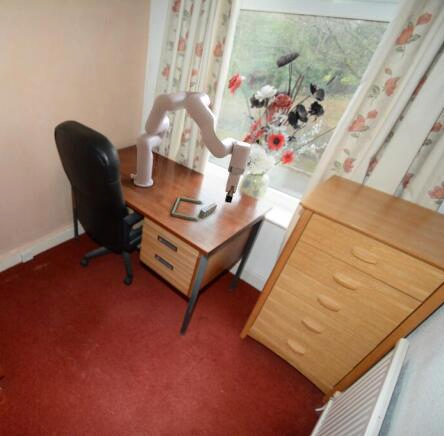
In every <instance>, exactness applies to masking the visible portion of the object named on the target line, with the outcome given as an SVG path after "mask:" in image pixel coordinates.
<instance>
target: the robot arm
mask: <svg viewBox="0 0 444 436" xmlns="http://www.w3.org/2000/svg"><path fill="white" fill-rule="evenodd" d="M210 103H211V101H210V97H209V96H208V94H206V93H205V92H202V91H201V92H200V91H188V90H181V91H176V92H171V93H162V94H159V95H157V96H156V97H155V99H154V102H153V104H152V106H151V109H150V112H149V114H148V117H147V119H146V121H145V124H144V131H145V132H144V133H141V134H139V136H138V137H137V138H136V140H135V144H136V174H134V173H130V175H129V176H130V179H133V184H134V185H136V186H137V187H140V188H149V187H151V186H153V185H154V180H153V179H152V175H153V161H154V154H153V152H152V149H154V148H156V147H159V145H161V144H162V142H163V141H164V138H165V137H166V135H167V133H168V131H169V128H170V119H169V116H168V112H176V111H179V110H185V111H186V112H187V114H188V115H189V116H190V117H191V119H192V120H193V122H194V123H195V124H196V125H197V127H198V128H199V130H200V134H201V135H200V136H201V138H202V142H203V144H204V146H205V148H206V149H207V151H208V152H210V154H211V155H212V156H213V157H214V158H216V159H224V158H227V156H229V155H231V156H230V160H229V164H228V168H227V172H228V176H227V180H226V184H225V190H224V192H225V193H226V195H225V199H224V202H225V203H228V204H231V203H232V202H233V198H234V194H236V193H237V190H238V187H239V183H240V179H241V176H242V175H244V174H245V171H246V168H247V164H248V160H249V157H250V154H251V150H252V146H251V144H250V143H248V142H244V141H239V140H237V139H234V138H232V137H225V138H224V139H220V136H218V135H217V133H216V128H215V124H216V116H215V114H214V113H213V112H212V111H211V109H210V108H209V106H210Z"/></svg>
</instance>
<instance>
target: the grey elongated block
mask: <svg viewBox="0 0 444 436" xmlns="http://www.w3.org/2000/svg"><path fill="white" fill-rule="evenodd" d="M217 207H218V204H217V203H215V202H212V203H211V204H208V205H207V206H205V207H203V208H202V209H200V210H199V213H198V217H200V218H201V219H203V218H204V217H206V216H208V215H209V214H211V213H212V212H214V211H216V210H217Z"/></svg>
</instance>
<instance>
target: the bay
mask: <svg viewBox="0 0 444 436" xmlns="http://www.w3.org/2000/svg"><path fill="white" fill-rule="evenodd" d="M180 200H181V201H184V202H189V203H195V204H199V205H202V202H203V201H202V200H200V199H195V198H189V197H185V196H178V197H177V199H176V202H175V204H174V206H173V208H172V211H171V215H170V216H173V217H176V218H181V219H186V220H189V221H195V222H197V220H198V217H195V216H191V215H188V214H187V215H186V214H183V213H178V212H176V209H177V207H178V204H179V202H180Z"/></svg>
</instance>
